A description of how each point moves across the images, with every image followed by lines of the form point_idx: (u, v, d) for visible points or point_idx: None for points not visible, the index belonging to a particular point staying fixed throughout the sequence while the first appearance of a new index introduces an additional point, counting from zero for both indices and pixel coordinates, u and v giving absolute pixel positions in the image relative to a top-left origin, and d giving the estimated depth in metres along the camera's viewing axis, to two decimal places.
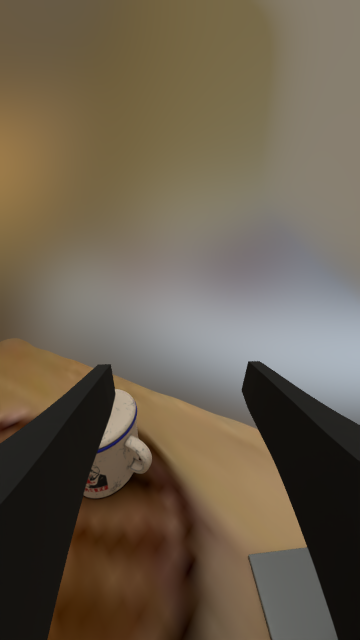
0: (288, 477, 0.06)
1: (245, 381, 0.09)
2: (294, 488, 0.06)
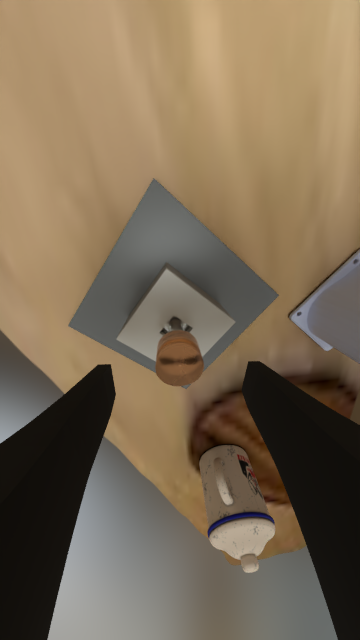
0: (288, 477, 0.06)
1: (245, 381, 0.09)
2: (294, 488, 0.06)
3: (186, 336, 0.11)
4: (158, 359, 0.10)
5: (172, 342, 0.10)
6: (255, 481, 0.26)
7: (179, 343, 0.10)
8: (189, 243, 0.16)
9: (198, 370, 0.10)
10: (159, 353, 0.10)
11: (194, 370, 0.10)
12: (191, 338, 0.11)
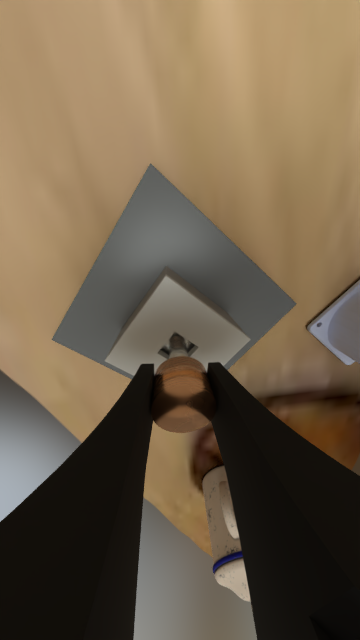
0: (231, 481, 0.06)
1: None
2: (235, 493, 0.06)
3: (192, 366, 0.08)
4: (155, 402, 0.07)
5: (174, 377, 0.07)
6: None
7: (183, 379, 0.07)
8: (193, 243, 0.13)
9: (209, 414, 0.07)
10: (156, 392, 0.07)
11: (203, 414, 0.07)
12: (199, 367, 0.08)
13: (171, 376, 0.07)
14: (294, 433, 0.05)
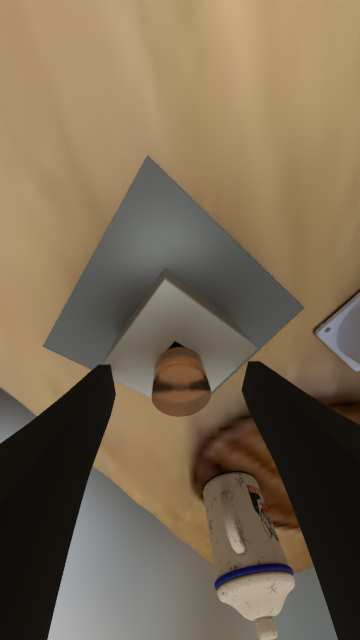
0: (288, 477, 0.06)
1: (245, 381, 0.09)
2: (294, 488, 0.06)
3: (189, 355, 0.09)
4: (155, 387, 0.08)
5: (172, 365, 0.08)
6: (268, 518, 0.22)
7: (181, 367, 0.08)
8: (194, 243, 0.12)
9: (204, 398, 0.08)
10: (156, 378, 0.08)
11: (199, 398, 0.08)
12: (195, 357, 0.09)
13: (170, 364, 0.08)
14: None
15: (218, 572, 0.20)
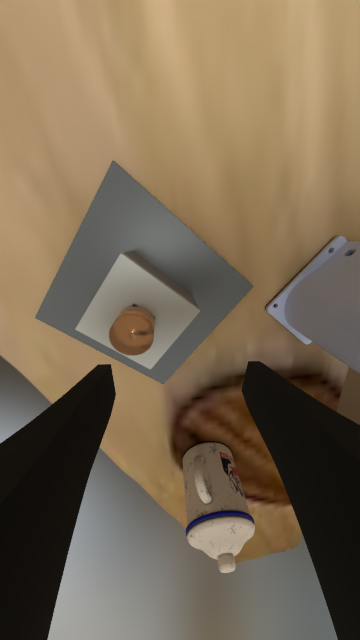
0: (288, 477, 0.06)
1: (245, 381, 0.09)
2: (294, 488, 0.06)
3: (140, 310, 0.12)
4: (110, 329, 0.11)
5: (124, 314, 0.11)
6: (237, 479, 0.25)
7: (129, 315, 0.11)
8: (155, 230, 0.15)
9: (148, 340, 0.11)
10: (112, 324, 0.11)
11: (145, 340, 0.11)
12: (145, 312, 0.12)
13: (123, 314, 0.11)
14: None
15: (189, 520, 0.22)
